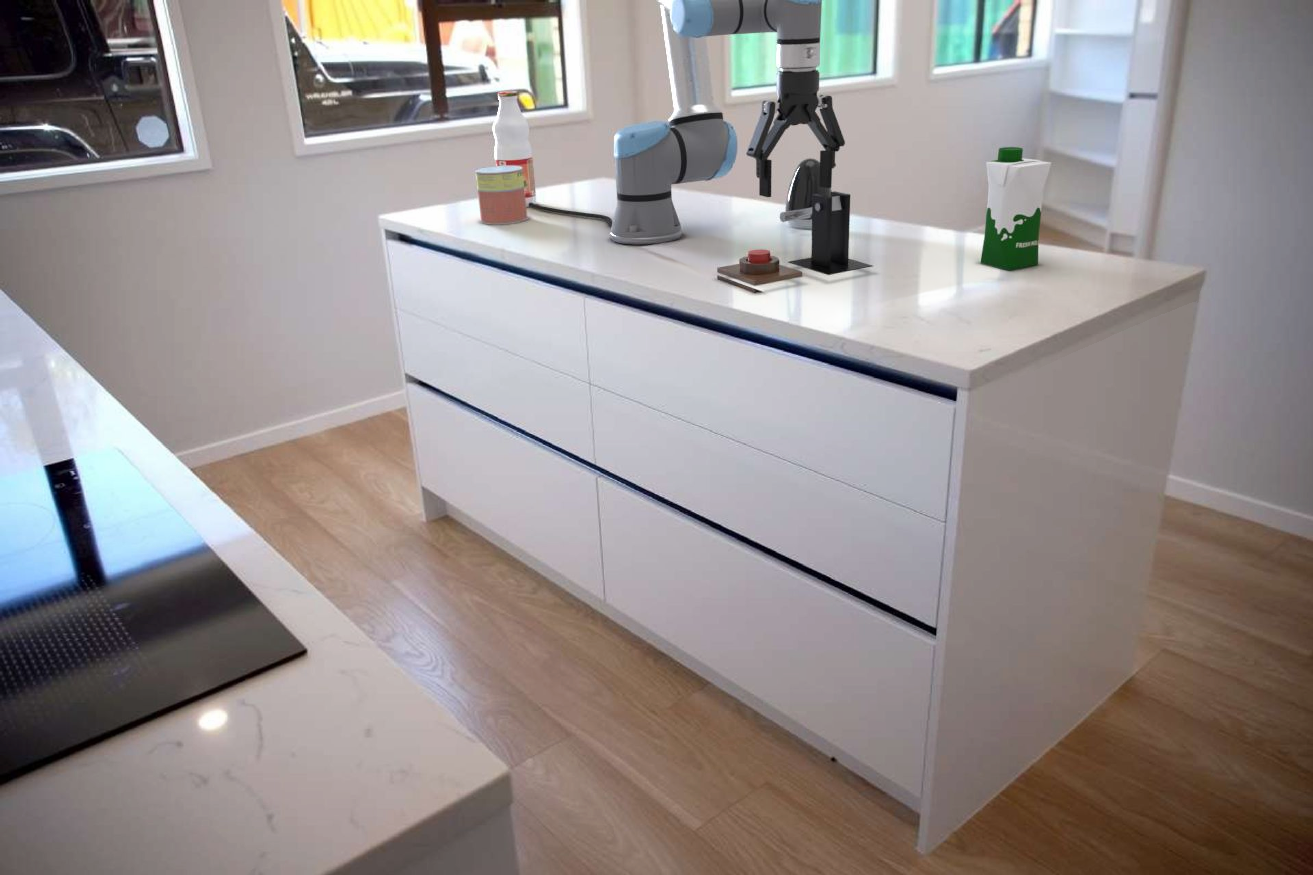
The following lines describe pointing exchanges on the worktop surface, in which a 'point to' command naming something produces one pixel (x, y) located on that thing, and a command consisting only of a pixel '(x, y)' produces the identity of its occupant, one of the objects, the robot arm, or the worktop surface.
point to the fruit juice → (514, 141)
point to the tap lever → (807, 211)
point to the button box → (756, 273)
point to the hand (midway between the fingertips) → (795, 191)
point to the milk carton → (1013, 210)
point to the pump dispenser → (804, 190)
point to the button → (759, 256)
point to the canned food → (501, 194)
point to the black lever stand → (830, 237)
